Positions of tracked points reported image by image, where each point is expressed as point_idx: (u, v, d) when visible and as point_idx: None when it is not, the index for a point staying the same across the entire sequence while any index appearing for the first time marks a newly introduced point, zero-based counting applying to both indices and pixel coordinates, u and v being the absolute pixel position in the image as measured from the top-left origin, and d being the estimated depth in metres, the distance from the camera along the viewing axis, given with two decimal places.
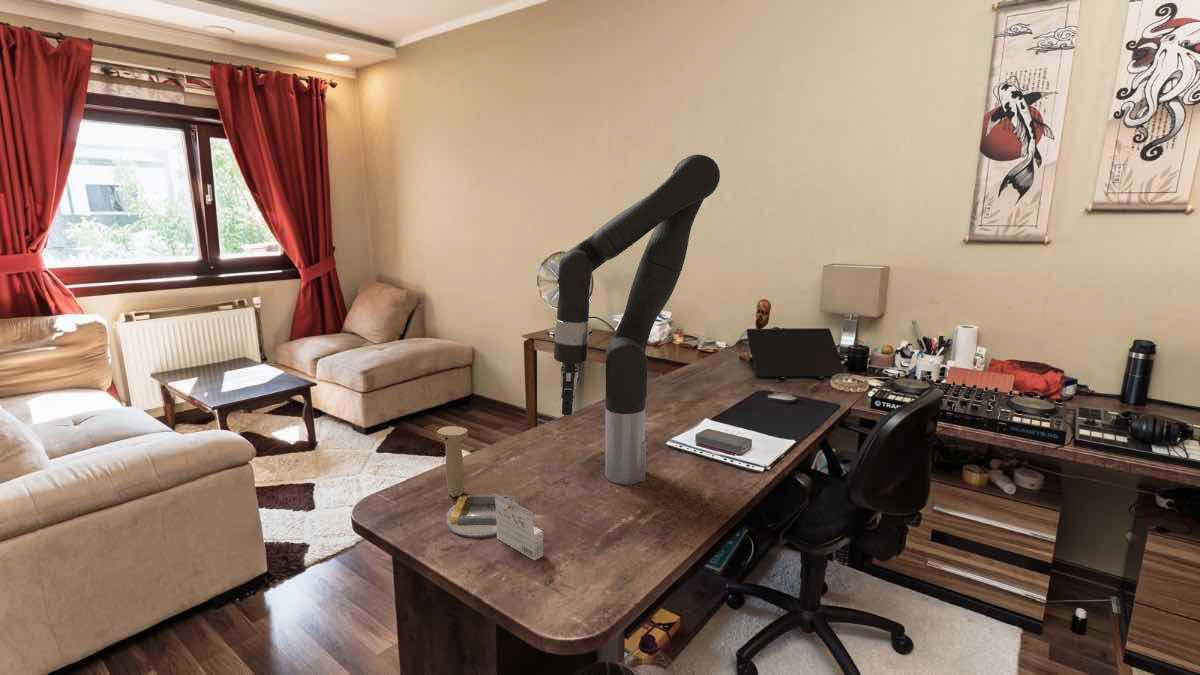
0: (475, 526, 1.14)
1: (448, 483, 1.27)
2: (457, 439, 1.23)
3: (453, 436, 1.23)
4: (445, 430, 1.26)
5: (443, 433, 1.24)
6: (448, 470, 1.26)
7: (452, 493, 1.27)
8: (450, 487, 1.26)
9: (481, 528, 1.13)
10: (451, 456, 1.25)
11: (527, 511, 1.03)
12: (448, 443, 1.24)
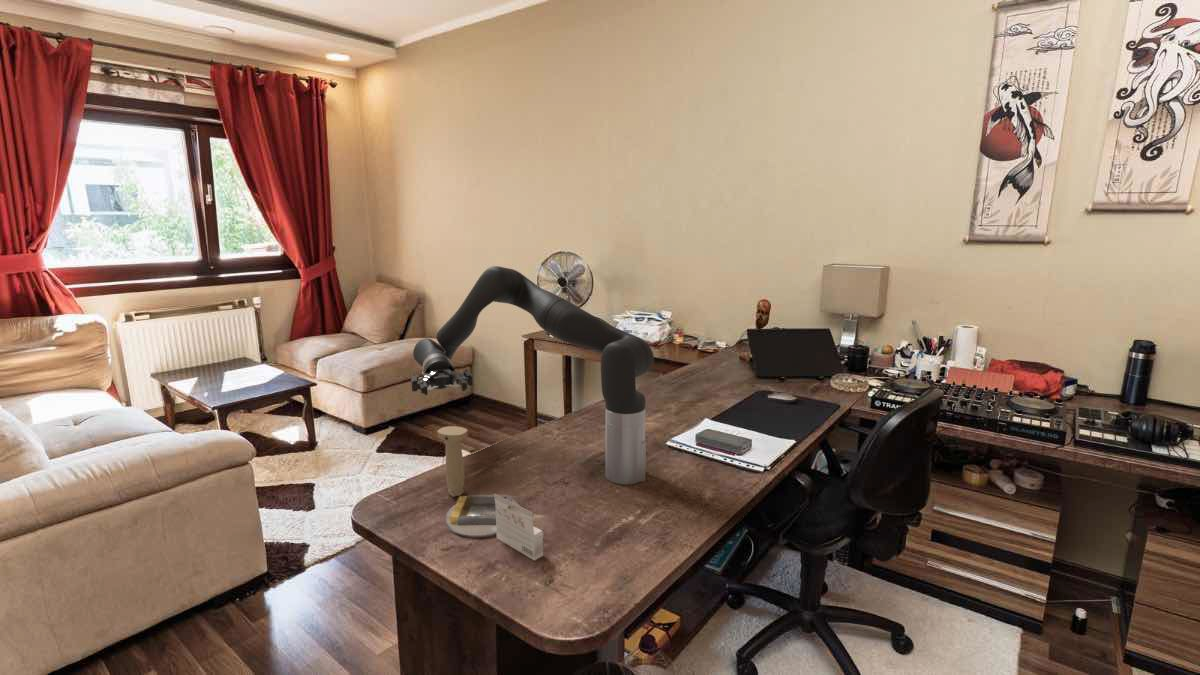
0: (475, 526, 1.14)
1: (448, 483, 1.27)
2: (457, 439, 1.23)
3: (453, 436, 1.23)
4: (445, 430, 1.26)
5: (443, 433, 1.24)
6: (448, 470, 1.26)
7: (452, 493, 1.27)
8: (450, 487, 1.26)
9: (481, 528, 1.13)
10: (451, 456, 1.25)
11: (527, 511, 1.03)
12: (448, 443, 1.24)
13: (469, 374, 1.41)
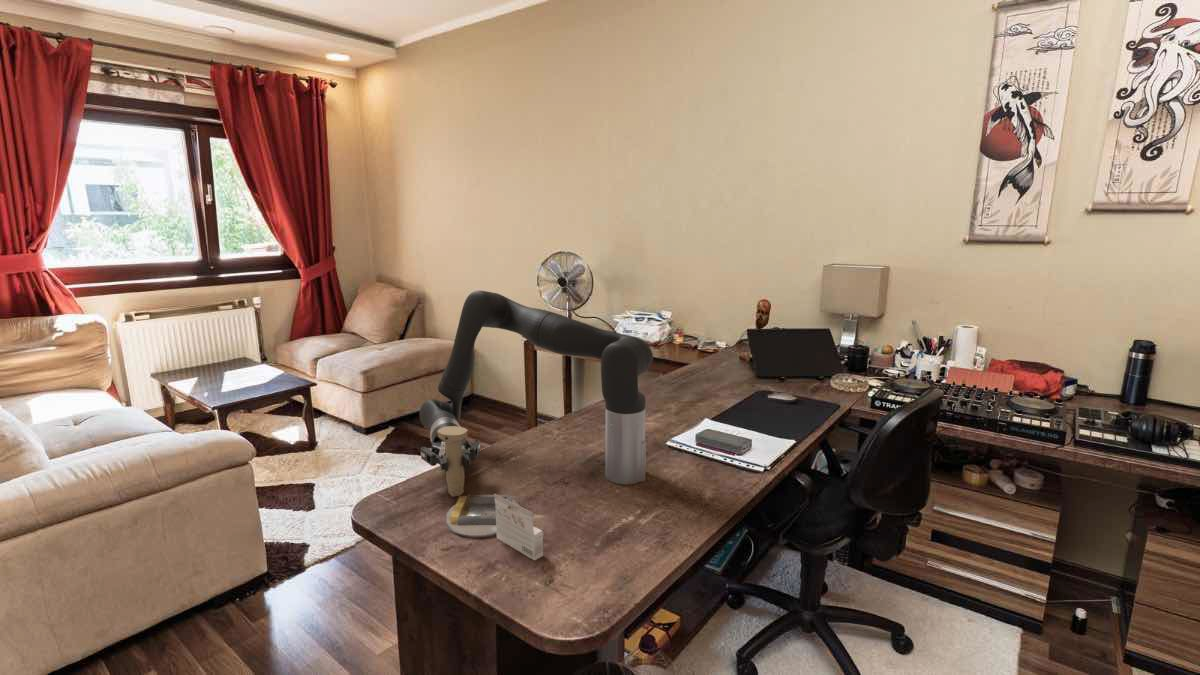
0: (475, 526, 1.14)
1: (448, 483, 1.27)
2: (457, 439, 1.23)
3: (453, 436, 1.23)
4: (445, 430, 1.26)
5: (443, 433, 1.24)
6: (448, 470, 1.26)
7: (452, 493, 1.27)
8: (450, 487, 1.27)
9: (481, 528, 1.13)
10: (451, 456, 1.25)
11: (527, 511, 1.03)
12: (448, 443, 1.24)
13: (473, 447, 1.31)
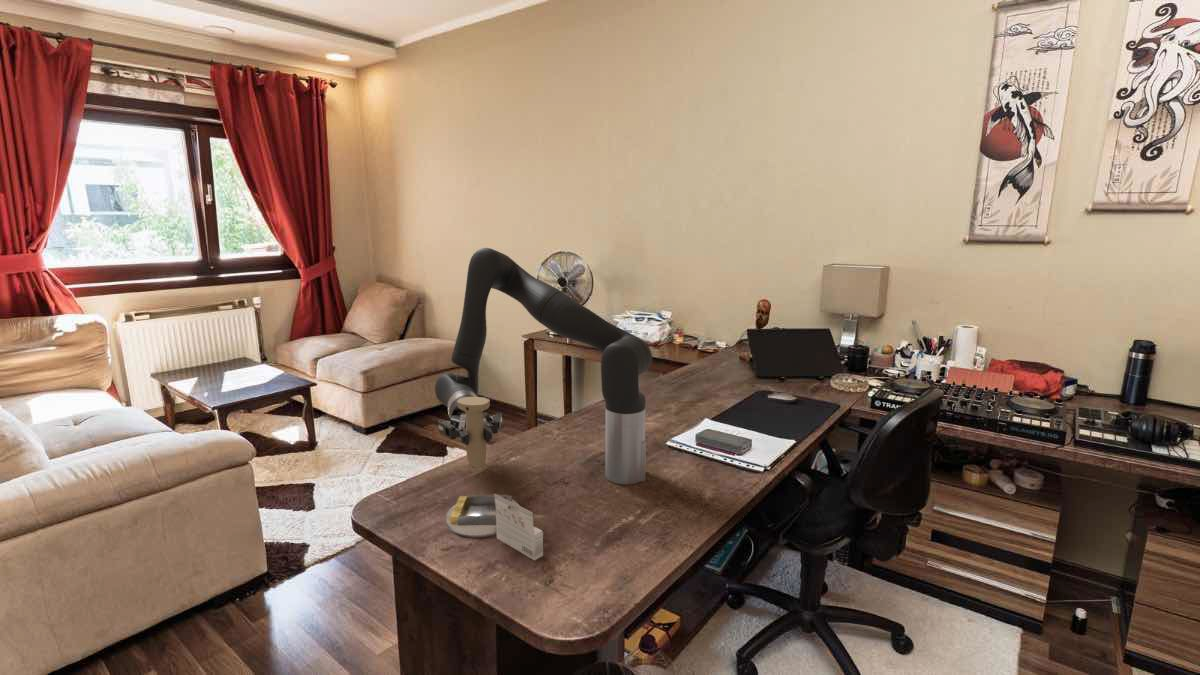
0: (475, 526, 1.14)
1: (469, 458, 1.16)
2: (479, 409, 1.13)
3: (474, 406, 1.13)
4: (466, 400, 1.15)
5: (463, 403, 1.14)
6: None
7: (473, 469, 1.17)
8: (471, 462, 1.16)
9: (481, 528, 1.13)
10: (472, 429, 1.15)
11: (527, 511, 1.03)
12: (469, 414, 1.14)
13: (495, 420, 1.21)
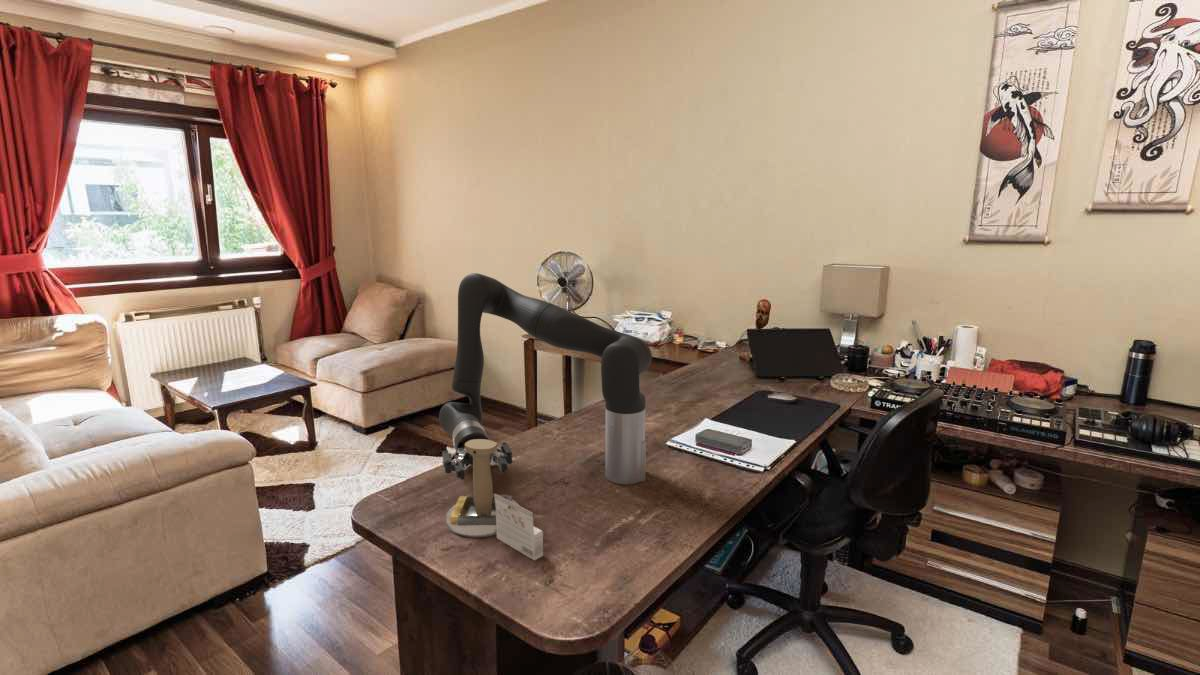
0: (475, 526, 1.14)
1: (475, 501, 1.17)
2: (486, 453, 1.14)
3: (482, 450, 1.13)
4: (473, 443, 1.16)
5: (471, 446, 1.14)
6: (475, 487, 1.16)
7: (480, 512, 1.17)
8: (477, 505, 1.17)
9: (481, 528, 1.13)
10: (479, 472, 1.15)
11: (527, 511, 1.03)
12: (476, 457, 1.15)
13: (508, 450, 1.22)
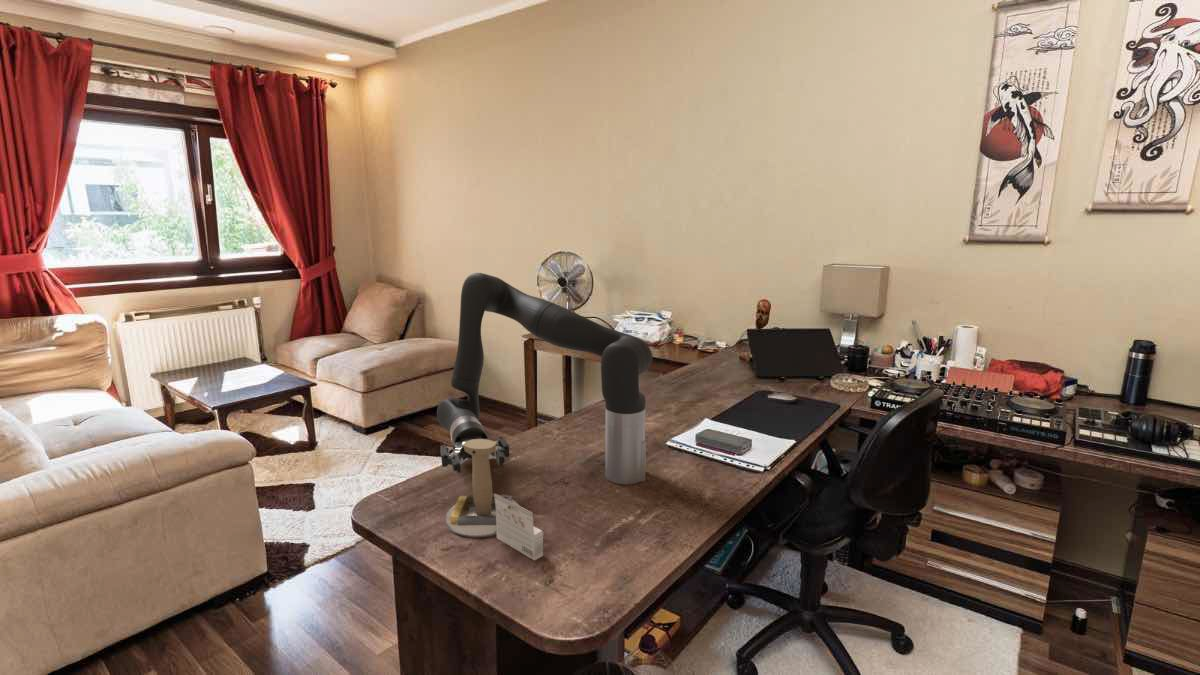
0: (475, 526, 1.14)
1: (475, 501, 1.17)
2: (485, 453, 1.14)
3: (481, 450, 1.13)
4: (472, 443, 1.16)
5: (470, 446, 1.14)
6: (475, 487, 1.16)
7: (479, 511, 1.17)
8: (477, 505, 1.17)
9: (481, 528, 1.13)
10: (479, 472, 1.15)
11: (527, 511, 1.03)
12: (475, 457, 1.15)
13: (505, 444, 1.25)
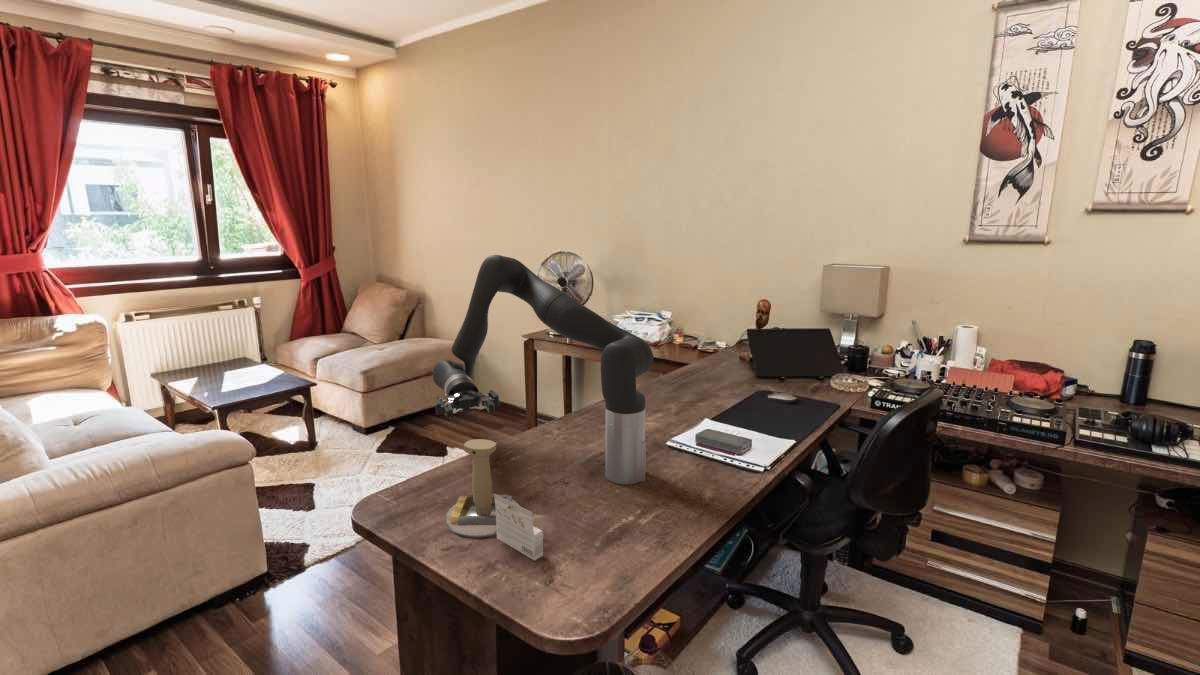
0: (475, 526, 1.14)
1: (475, 501, 1.17)
2: (486, 453, 1.13)
3: (481, 450, 1.13)
4: (472, 443, 1.16)
5: (470, 447, 1.14)
6: (475, 487, 1.16)
7: (479, 512, 1.17)
8: (477, 505, 1.17)
9: (481, 528, 1.13)
10: (479, 472, 1.15)
11: (527, 511, 1.03)
12: (476, 458, 1.15)
13: (495, 395, 1.34)
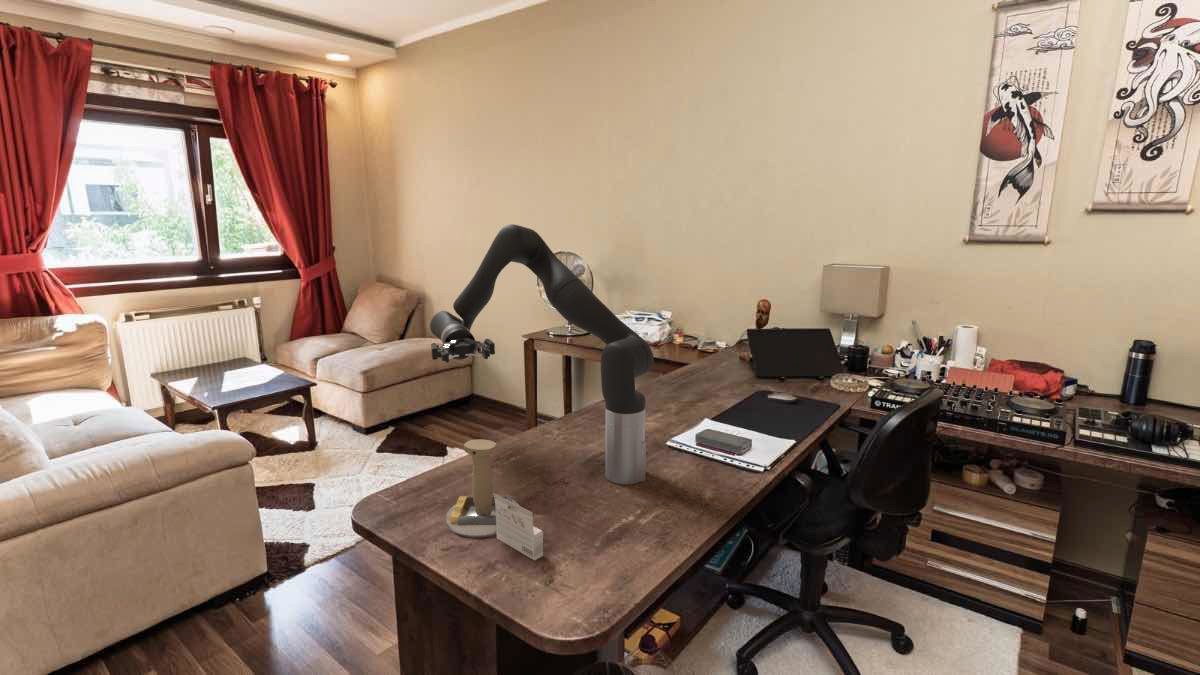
0: (475, 526, 1.14)
1: (475, 501, 1.17)
2: (486, 454, 1.13)
3: (481, 451, 1.13)
4: (472, 443, 1.16)
5: (470, 447, 1.14)
6: (475, 487, 1.16)
7: (479, 512, 1.17)
8: (477, 505, 1.17)
9: (481, 528, 1.13)
10: (479, 472, 1.15)
11: (527, 511, 1.03)
12: (476, 458, 1.14)
13: (491, 343, 1.35)
